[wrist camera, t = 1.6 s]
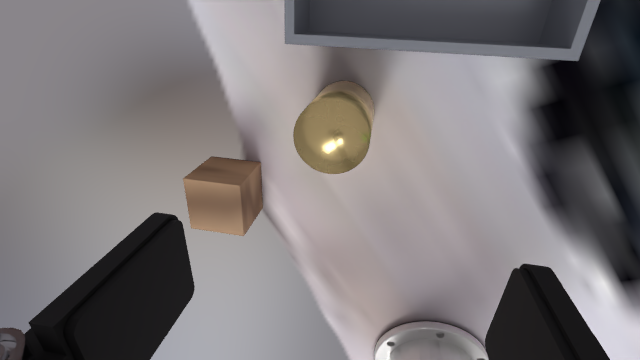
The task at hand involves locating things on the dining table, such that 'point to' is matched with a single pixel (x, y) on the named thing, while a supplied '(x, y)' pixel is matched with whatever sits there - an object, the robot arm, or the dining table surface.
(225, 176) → the cube
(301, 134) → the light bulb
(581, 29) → the box
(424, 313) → the dining table surface
